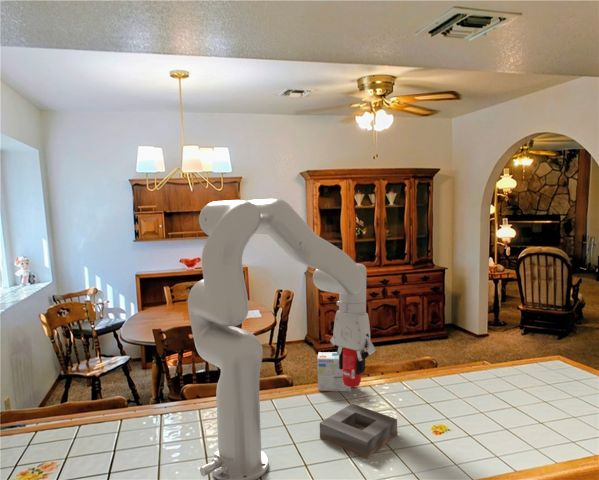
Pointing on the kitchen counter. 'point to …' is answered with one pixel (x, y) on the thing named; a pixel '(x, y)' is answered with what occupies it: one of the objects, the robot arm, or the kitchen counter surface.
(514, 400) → the kitchen counter surface
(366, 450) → the socket block
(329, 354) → the light bulb box
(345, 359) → the beverage can
